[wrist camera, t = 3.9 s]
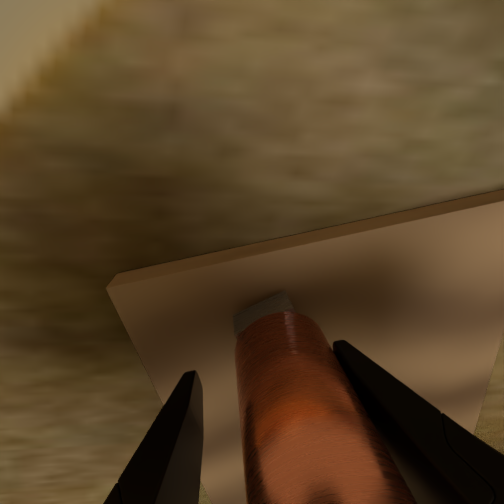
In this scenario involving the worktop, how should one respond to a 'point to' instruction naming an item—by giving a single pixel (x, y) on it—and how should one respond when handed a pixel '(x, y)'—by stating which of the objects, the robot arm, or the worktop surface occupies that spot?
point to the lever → (304, 417)
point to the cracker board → (332, 312)
